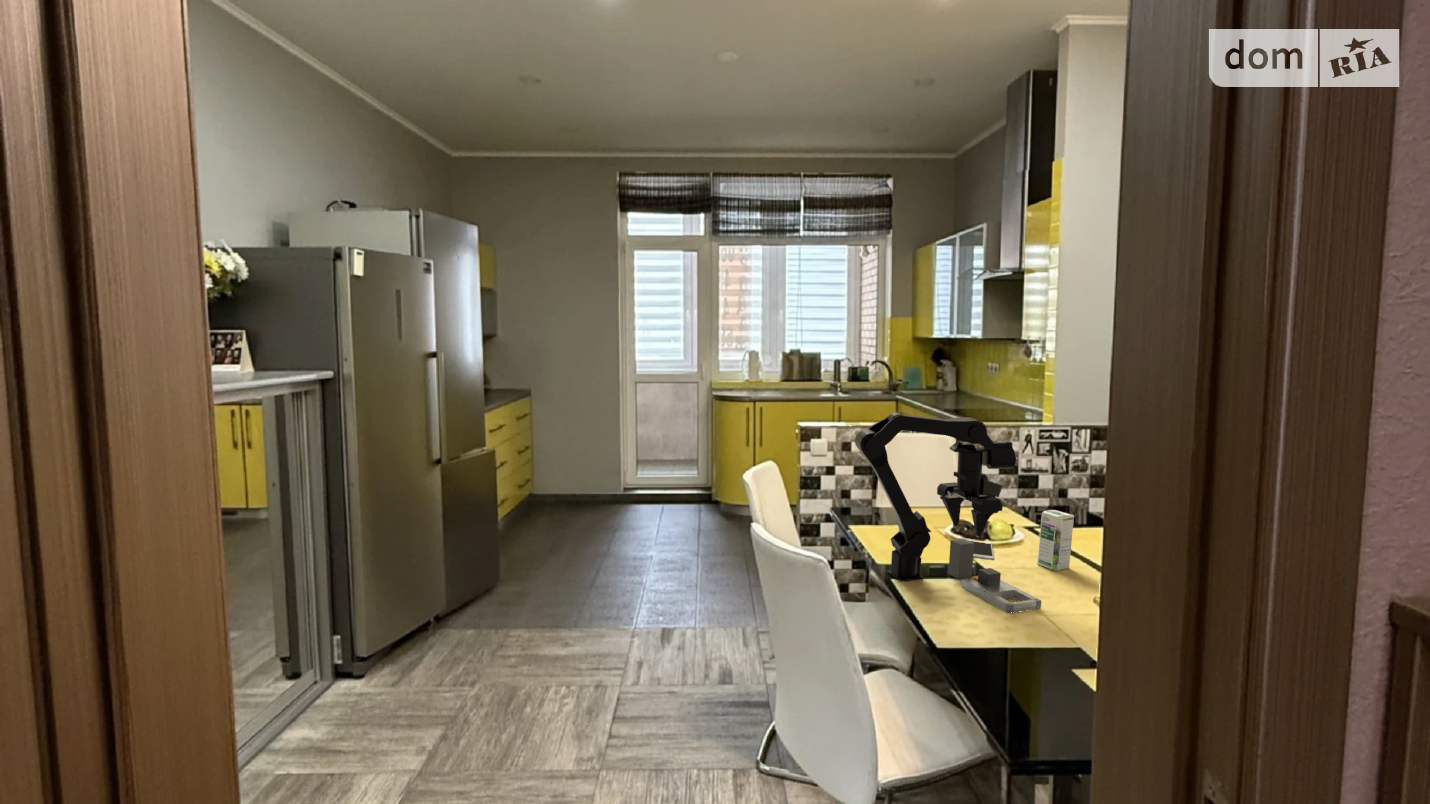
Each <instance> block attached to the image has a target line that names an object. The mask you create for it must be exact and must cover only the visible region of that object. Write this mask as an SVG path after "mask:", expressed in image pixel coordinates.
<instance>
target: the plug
mask: <svg viewBox="0 0 1430 804" xmlns="http://www.w3.org/2000/svg"><path fill="white" fill-rule="evenodd" d="M966 539H967V538H965V537H964V538H956V539H955V538H954V539H950V544H949V545H950V546H949V557H948V558H949V559H948V560H949V561H948V572H947V573H948V575H949V576H951V577H953V578H954V579H957V580H962V579H969V578H973V569H974V568H973V567H974V565H973V564H974V557H973V554H974V543H973V542H970V541H968V540H966Z"/></svg>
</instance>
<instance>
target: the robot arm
mask: <svg viewBox="0 0 1430 804" xmlns="http://www.w3.org/2000/svg"><path fill="white" fill-rule="evenodd" d="M902 431H906V432H914V433H915V432H916V433H923V434H929V435H930V434H931V435H939V436H947V437H951V438H953V439H955V440H956V441H955V443H954V444H952V445H951V446H949V450H950V451H952V452H954V453H957V470H956V471H953V477H956V481H955V482H945V483H943V482H941V483H939V484H938V486H937V488H936V494H937V495H938V496H939V499H940V500H941V501H942V503H943V505H944V507H945V509H946V511H947V513H948V515H949V517H950V519H951V522H952V524H953V526H954V527H955V526H959V525H960V524H959V523H960V518H961V517H960V516H961V508H962V507H961V506H962V503H963V502H964V501H965V500H966V501H967V502H970V503H971V506H972V507H971V508H972V509H971V511H970V512H971V516H972V522H973V526H974V530H975V534H976V536H977V537H981V536H982V534H983V533H984V530H985V528H986V525H987V523H988V521H989V519H990V518H991V516H993V515H994V514H997V513H999V512H1002V511H1003V504H1004V503H1003V501H1002V500H1001V499H1000V498H999V497H1000V494H1001V492H1002V489H1003V486H1004V485H1002V484H999V483H996V482H993V481H990V480H989V478H988V476H987V475H986V474H985V473H983V465H984V466H985V467H986V468H987V469H988V470H1012V469H1014V468H1015V466H1016V463H1017V456H1016V452H1015V450H1014V448H1013V445H1014V444H1013V442H1012V441H1009V440H1003V441H993V440H992V439H991V437H990V436H989V435H988V429H987V426H986V425H985V424H984V423H983V422H982V421H981V420H978V419H975V418H973V417H969V416H968V417H967V416H961V417H953V418H938V417H930V416H922V415H914V414H904V413H900V412H895V411H893V412H891V413H890V414H889V415H888V416H886V417H885V418H884V419H881V420H880V421H878V422H876V423H874V424H872V425H871V426H870V427H868V428H864V429H861V430H860V431H858V432H857V434H856V435H855V438H854V445H855V447H856V448H857V449H858V450H859V452H860V453H861V455H862V456H863V457H864V458H865V459H866V461H867V463H869V465H870V466H871V468H872V469H873V472H874V473H875V476H876V478H877V479H878V481H879V483H880V485H881V487H882V490H883V491H884V493H885V496H886V497H887V499H888V501H889V503H890V504H891V508H892V509H893V512H894V513H895V517H896V522H897V526H898V532H897V533H895V534H894V535H893V536H892V537H891V538H890V542H891V545H892V547H893V548H894V550H891V565H890V569H888V570H886V571H887V574H889V575H890V576H892V577H894V578H896V579H897V580H899V581H903V582H904V581H912V580H921V579H923V578H924V577H923V576H924V575H921V570H922V569H921V568H922V554H923V552H924V549H926V548H927V547H928V546H929V543H930V542H931V535H930V533H932V531H931V530H930V528H928V525H927V522H926V519H925V517H924V516H923V515H922V514H921V513H920V512H919V511H917V510H915V511H914V512H913V509H912V507H911V506H910V504H909V501H908V500H907V498H906V495H905V494H904V492H903V490H902V487H901V486H900V484H899V481H898V480H897V477H896V476H895V473H894V472H893V469H892V468H891V466H890V463H889V460H888V452H887V449H886V446H887V445H888V444H889V443H890V442H892V441H893V439H895V437H896V436H897V435H898V434H899V433H901V432H902ZM959 440H960V441H963V442H965V444H964V443H963V444H962V442H960V441H959ZM975 445H979V446H981V447H976V446H975ZM988 494H989V495H988Z"/></svg>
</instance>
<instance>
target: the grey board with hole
mask: <svg viewBox="0 0 1430 804" xmlns="http://www.w3.org/2000/svg"><path fill="white" fill-rule="evenodd" d="M977 572H978V573H977V575H974V576H973V575H972V578H969V579H961V588H962V589H964V590H966V591H968V592H970V593H971V594H972V595H975V596H977V597H978V596H979V597H978V598H980V599H981V598H982V599H981V600H984V602H987V603H989V604H990V603H991V604H990V605H992V604H993V605H992V606H993V607H995V608H997V607H998V608H997V609H999V610H1001V611H1002V610H1004V611H1005V612H1004V611H1003V612H1004V613H1006V612H1007V613H1006V614H1008V613H1010V614H1014V613H1013V612H1017V613H1020V612H1019V611H1024V612H1027V611H1026V610H1031V611H1037V610H1036V609H1038V610H1041V608H1042V600H1041V599H1039V598H1037V597H1035V596H1033V595H1032V594H1029V593H1028V592H1026V591H1024V590H1022V589H1020V588H1018V587H1016V586H1014V585H1012V584H1010V583H1008V582H1007V581H1004V580H1002V579H1001V576H1002V575H1001V574H1002V573H1001V572H999V571H998V570H996V569H994V568H991V567H989V568H987V567H986V568H980V569H978V571H977ZM1009 598H1010V599H1014V598H1015V599H1014V600H1016V601H1014V602H1011V601H1009V600H1010V599H1009ZM1008 599H1009V600H1008ZM1018 600H1019V601H1018ZM1011 612H1012V613H1011Z"/></svg>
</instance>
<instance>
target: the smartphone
mask: <svg viewBox="0 0 1430 804" xmlns="http://www.w3.org/2000/svg"><path fill="white" fill-rule="evenodd" d="M965 539H966V540H967V539H968V538H965ZM968 541H969V540H968ZM970 542H973V541H970ZM973 543H974V554H973V559H974V558H977V559H985V560H992V561H993V560H994V559H995V557H994V550H993V543H992V544H985V543H979V542H973Z"/></svg>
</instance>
